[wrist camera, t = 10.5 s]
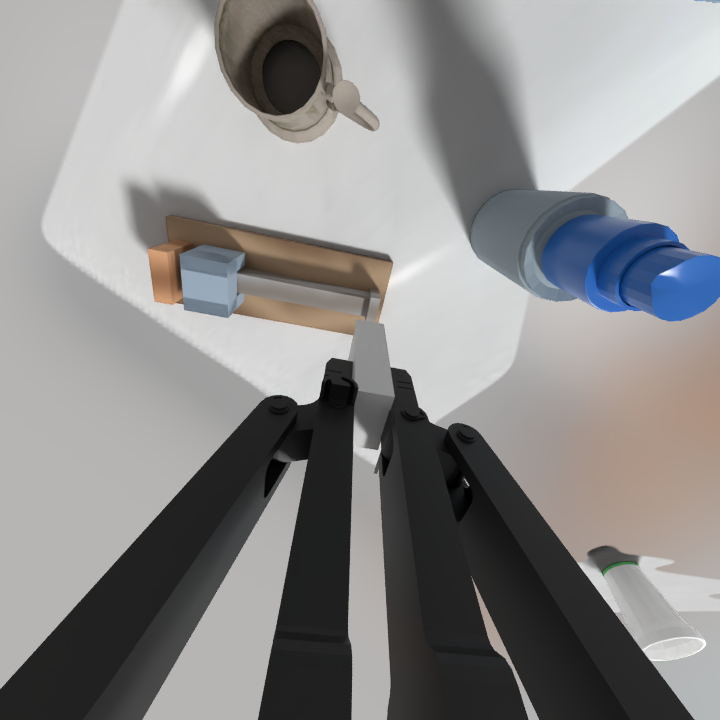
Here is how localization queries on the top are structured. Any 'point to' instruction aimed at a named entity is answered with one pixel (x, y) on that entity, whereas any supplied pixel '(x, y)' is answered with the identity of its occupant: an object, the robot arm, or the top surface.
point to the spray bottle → (593, 254)
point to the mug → (247, 54)
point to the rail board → (291, 266)
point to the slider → (211, 280)
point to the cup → (650, 615)
